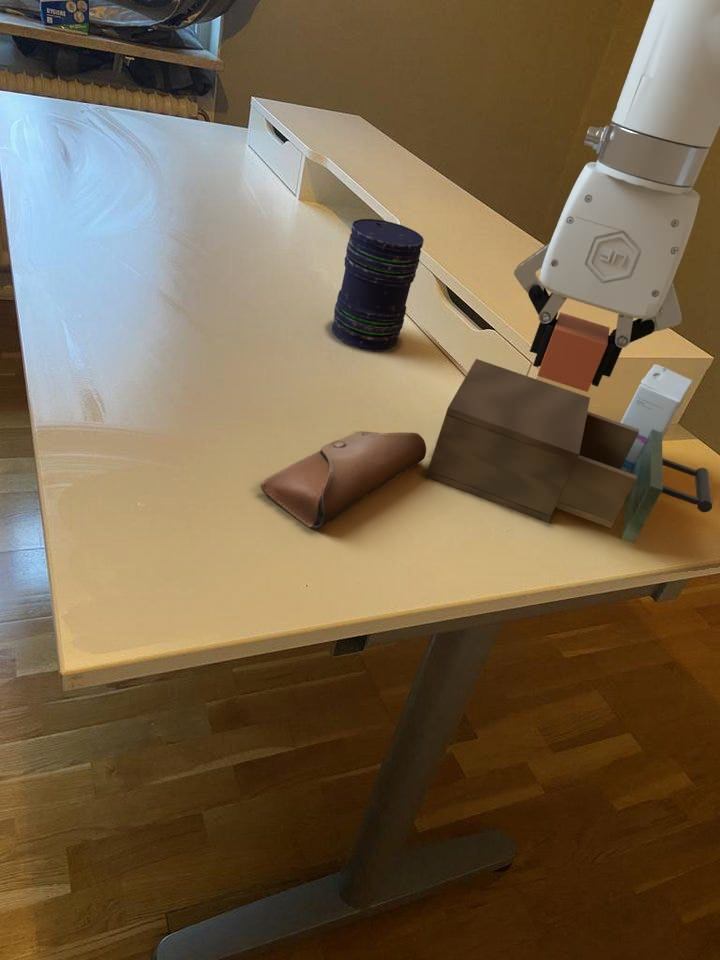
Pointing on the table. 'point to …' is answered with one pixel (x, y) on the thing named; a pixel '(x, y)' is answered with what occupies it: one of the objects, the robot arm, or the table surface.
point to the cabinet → (510, 439)
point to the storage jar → (376, 284)
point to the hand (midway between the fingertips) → (567, 368)
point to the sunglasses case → (342, 474)
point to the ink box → (654, 407)
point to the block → (574, 352)
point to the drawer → (623, 477)
